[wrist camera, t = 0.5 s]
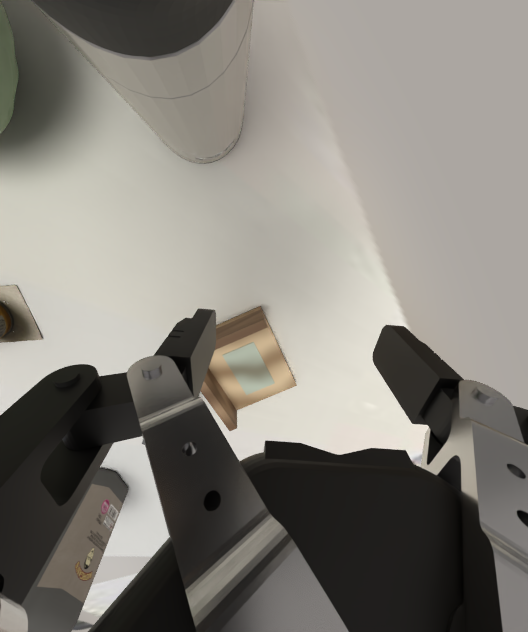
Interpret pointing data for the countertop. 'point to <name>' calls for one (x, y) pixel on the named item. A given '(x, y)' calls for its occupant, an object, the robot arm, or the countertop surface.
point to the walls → (223, 338)
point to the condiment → (15, 317)
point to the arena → (251, 367)
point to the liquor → (75, 557)
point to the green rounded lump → (7, 71)
